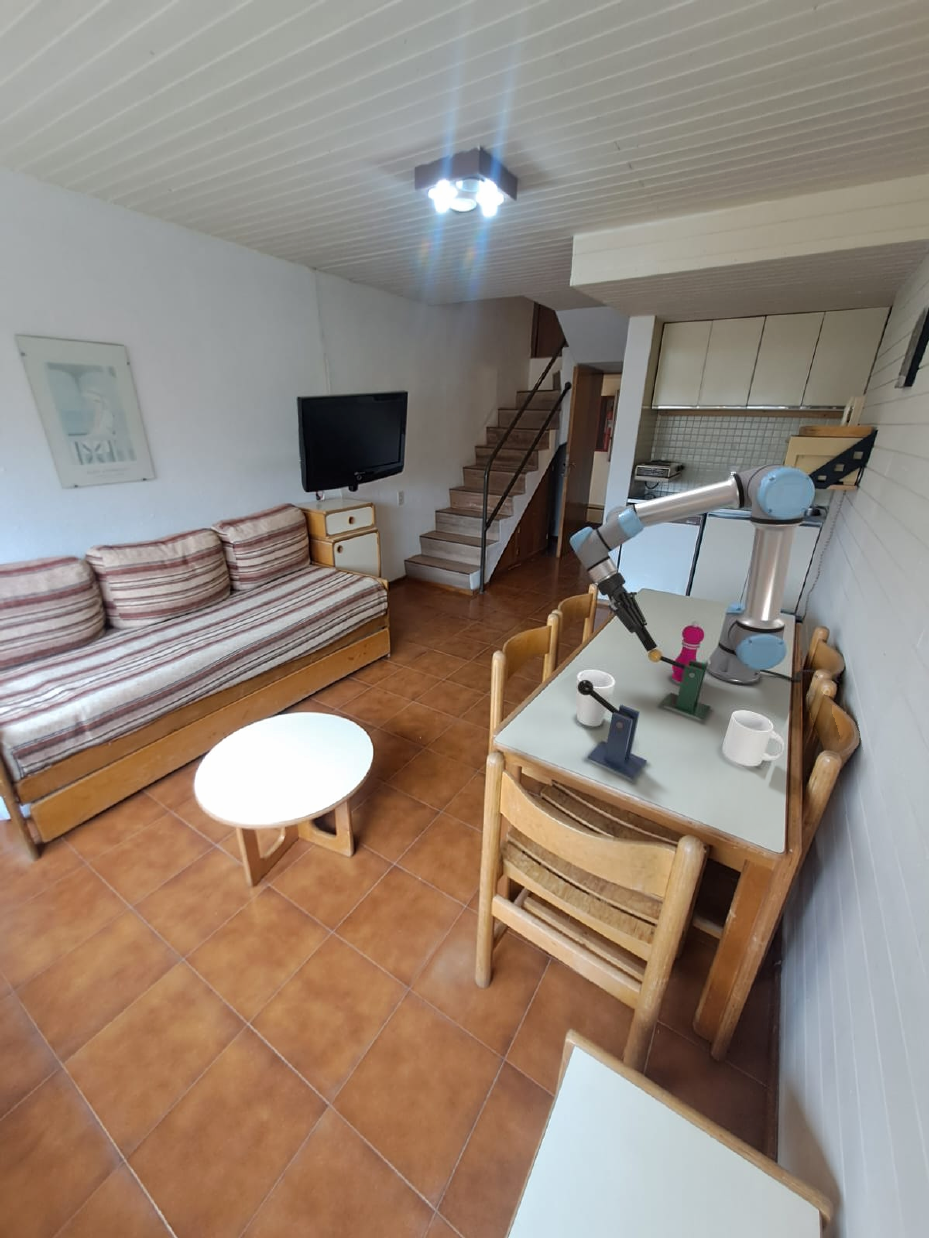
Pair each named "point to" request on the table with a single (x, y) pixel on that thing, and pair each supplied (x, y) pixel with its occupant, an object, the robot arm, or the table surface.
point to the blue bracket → (620, 745)
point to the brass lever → (666, 659)
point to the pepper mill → (688, 648)
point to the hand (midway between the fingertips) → (652, 648)
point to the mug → (749, 738)
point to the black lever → (598, 697)
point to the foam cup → (587, 706)
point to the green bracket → (690, 692)
